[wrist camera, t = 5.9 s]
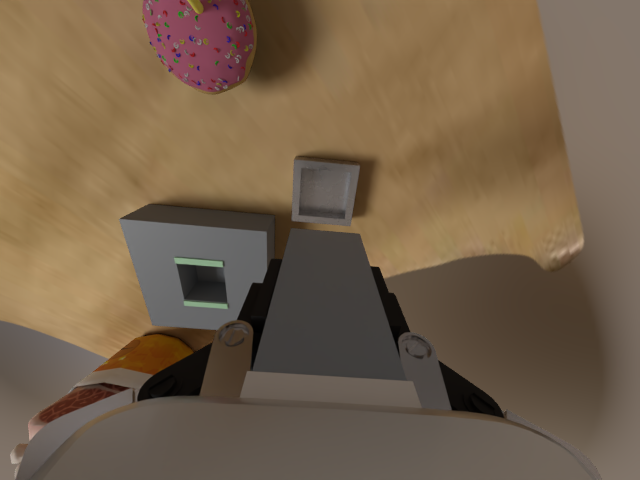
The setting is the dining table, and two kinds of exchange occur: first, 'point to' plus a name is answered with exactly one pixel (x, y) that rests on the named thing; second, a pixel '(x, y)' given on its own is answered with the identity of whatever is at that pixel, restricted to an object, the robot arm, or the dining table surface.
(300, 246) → the plug
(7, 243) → the dining table surface
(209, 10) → the cupcake
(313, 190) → the box
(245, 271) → the port block
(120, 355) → the bucket of meat
